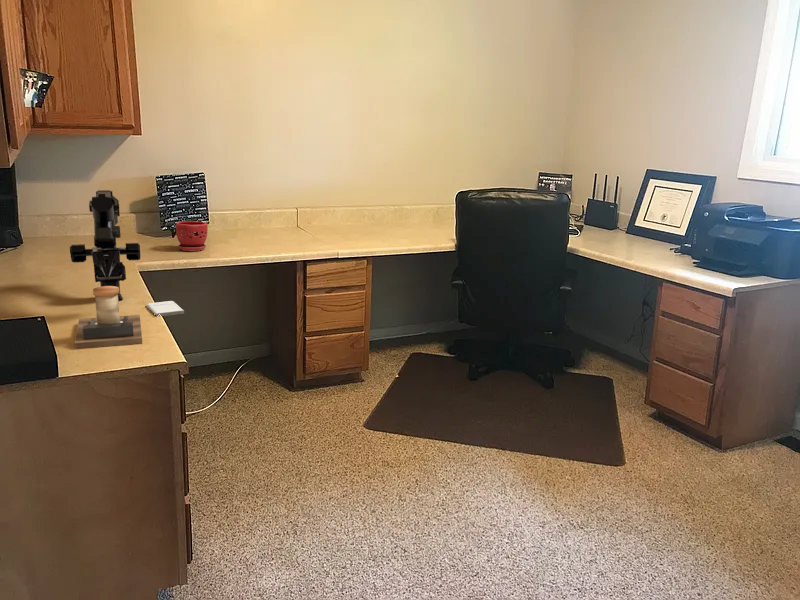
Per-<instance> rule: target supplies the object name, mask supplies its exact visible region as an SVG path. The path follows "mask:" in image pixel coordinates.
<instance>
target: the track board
mask: <svg viewBox="0 0 800 600" xmlns="http://www.w3.org/2000/svg"><path fill="white" fill-rule="evenodd" d="M119 316H120V321H123V323H124V316H125V315H119ZM127 316H128V322H133V333H134V336H128V337H115V338H102V339H89V340H84V337H83V325H90V322H91V318H92V317H89V318H87V317H86V318H78V325H77V329H76V334H75V340H74V350H75V349H77V350H78V349H90V348H91V349H92V348H101V347H112V346H113V347H115V346H124V345H125V346H127V345H139V344H143V335H142V325H141V314H134V315H133V314H132V315H130V314H129V315H127ZM94 318H95V323H97V317H94Z"/></svg>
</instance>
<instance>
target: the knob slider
mask: <svg viewBox="0 0 800 600" xmlns="http://www.w3.org/2000/svg"><path fill="white" fill-rule="evenodd" d="M92 294H93V296H94V297H95V310H96V311H95V312H96V318H97V323H95V325H96V324H110V323H123V321H120V316H121V315H120V306H119V300H118V294H119V287H116V286H102V287H101V286H97V287H95V288H93V289H92Z"/></svg>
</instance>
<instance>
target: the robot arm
mask: <svg viewBox="0 0 800 600" xmlns="http://www.w3.org/2000/svg"><path fill="white" fill-rule="evenodd" d="M88 209H89V210H88V211H89V212H90V213H92V217H93V226H94V228H93V230H94V231H93V233H94V236H93V241H94V242H93V243H94V246H92V247H91V248H86V245H85V243H83V244H81V243H80V244H71V245H70V246H69V253H70V260H71V262H72V263H75V264H76V263H77V264H78V263H85V262H86V261H87V257H91V258H92V263H93V272H94V282H95V283H99V284H100V285H99V287H102V286H116V287H119V294H118V301H123V299H124V297H123V295H122V294H121V283H120V282H123V281H126V280H127V274H126V265H124V264H123V261H121V256H122V255H125V257H126V258H125V259H127V260H128V261H139V260H141V245H140V243H139V242H125V247H117V239H120V238H122V236H121V226H120V225H117V224H118V223H119V222H118V221H119V217H120V216H121V215H120V212H121V211H120V200H119V199H118V198H116V197H115V196H114V194H113V191H112V190H105V189H104V190H103V189H102V190H100V189H98V190H96V191H95V196H92V197H91V199H90V200H89V203H88Z"/></svg>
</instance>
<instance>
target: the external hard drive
mask: <svg viewBox="0 0 800 600" xmlns="http://www.w3.org/2000/svg"><path fill="white" fill-rule="evenodd" d="M146 308H148V310H149V311H150V310H151V311H152V312H153V313H154V314H155V315H156V316H158V315H159V314H160V315H161V316H160V315H159V316H158V317H167V316H173V315H174V316H175V315H180V314H181V315H182V314H185V310H184V309H182V308H181V307H180V306H179V305H178V304H177V303H176V302H175V301H173V300H168V301H160V302H159V301H158V302H148V303H146ZM151 311H150V312H151ZM152 312H151V313H152ZM153 313H152V314H153ZM154 314H153V315H154ZM155 315H154V316H155ZM156 316H155V317H156Z"/></svg>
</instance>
